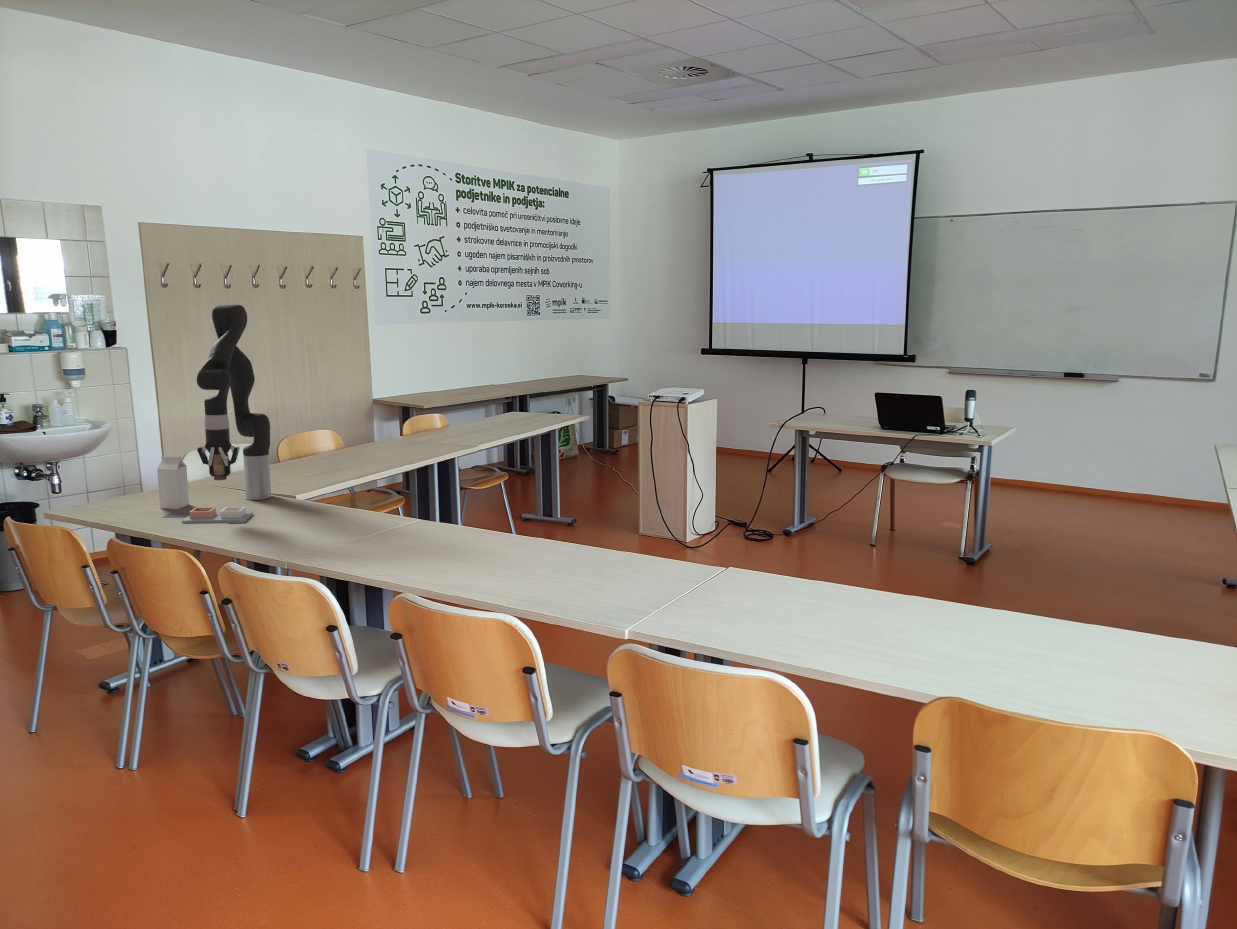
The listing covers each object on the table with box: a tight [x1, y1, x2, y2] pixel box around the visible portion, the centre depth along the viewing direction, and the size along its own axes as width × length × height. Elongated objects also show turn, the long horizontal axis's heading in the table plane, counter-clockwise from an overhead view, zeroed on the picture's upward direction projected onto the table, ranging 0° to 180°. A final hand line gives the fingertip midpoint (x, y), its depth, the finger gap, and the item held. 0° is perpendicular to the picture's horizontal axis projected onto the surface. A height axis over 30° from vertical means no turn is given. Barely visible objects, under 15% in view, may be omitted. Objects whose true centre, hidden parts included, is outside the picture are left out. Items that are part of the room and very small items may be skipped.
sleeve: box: [213, 454, 228, 481], centre depth 296 cm, size 4×4×9 cm
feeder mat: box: [161, 510, 191, 519], centre depth 303 cm, size 9×9×1 cm
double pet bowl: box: [181, 506, 254, 524], centre depth 298 cm, size 12×20×4 cm, turn 99°
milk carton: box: [156, 456, 190, 510], centre depth 313 cm, size 7×7×19 cm
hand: (220, 475), depth 296 cm, fingers closed on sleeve, 4 cm apart
